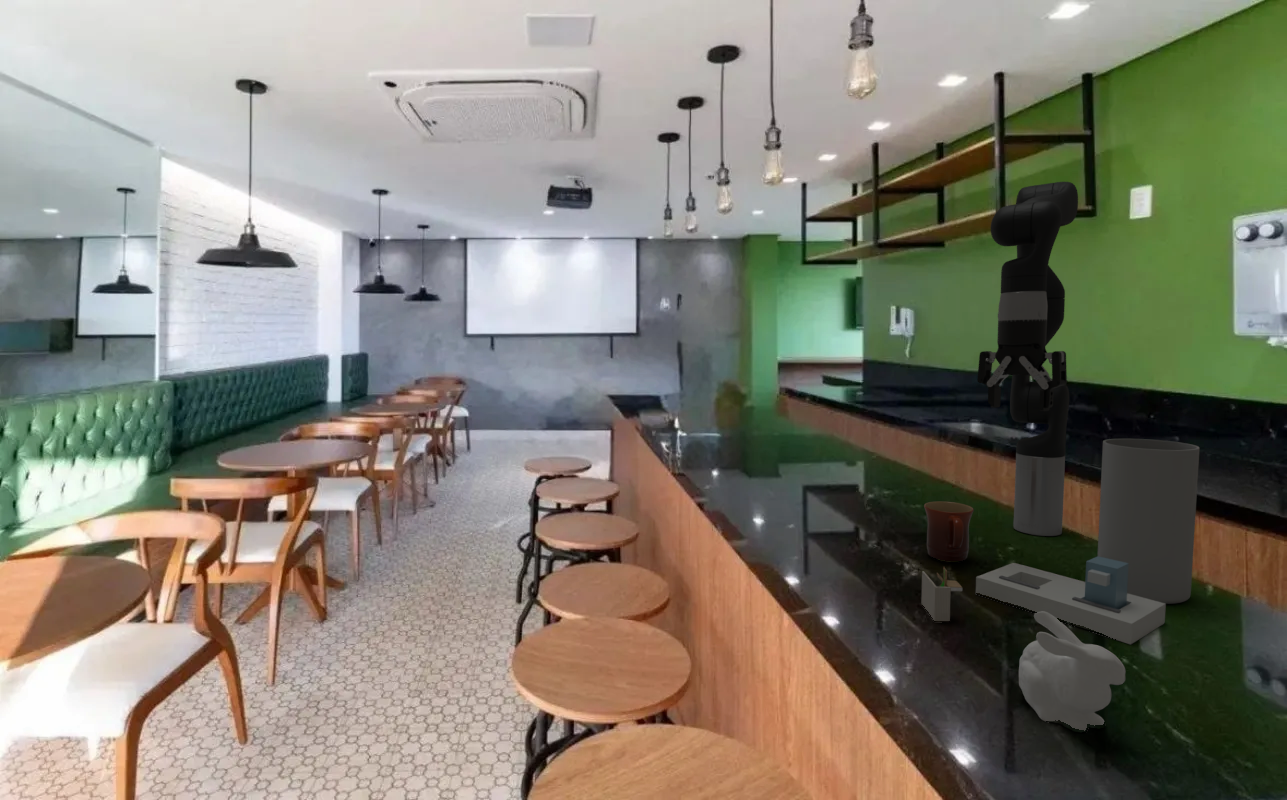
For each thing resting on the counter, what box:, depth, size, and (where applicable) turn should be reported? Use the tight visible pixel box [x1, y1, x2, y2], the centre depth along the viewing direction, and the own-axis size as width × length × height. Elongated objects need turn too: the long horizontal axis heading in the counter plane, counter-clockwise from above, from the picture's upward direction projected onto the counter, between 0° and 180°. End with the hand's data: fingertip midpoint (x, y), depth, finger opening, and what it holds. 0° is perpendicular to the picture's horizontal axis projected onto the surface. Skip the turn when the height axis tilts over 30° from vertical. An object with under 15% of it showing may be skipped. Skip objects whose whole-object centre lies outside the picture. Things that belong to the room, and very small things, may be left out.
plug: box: [1084, 555, 1129, 609], centre depth 96 cm, size 5×4×9 cm
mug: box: [923, 501, 975, 562], centre depth 123 cm, size 12×9×10 cm
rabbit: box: [1018, 611, 1126, 731], centre depth 73 cm, size 12×9×12 cm
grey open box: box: [920, 566, 963, 622], centre depth 100 cm, size 4×7×8 cm, turn 172°
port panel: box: [975, 562, 1167, 645], centre depth 101 cm, size 12×22×3 cm, turn 33°
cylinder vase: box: [1097, 438, 1200, 605], centre depth 106 cm, size 12×12×25 cm
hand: (1018, 408), depth 115 cm, fingers open, 8 cm apart
